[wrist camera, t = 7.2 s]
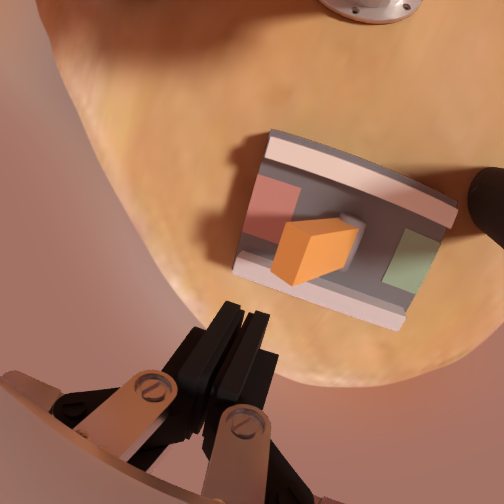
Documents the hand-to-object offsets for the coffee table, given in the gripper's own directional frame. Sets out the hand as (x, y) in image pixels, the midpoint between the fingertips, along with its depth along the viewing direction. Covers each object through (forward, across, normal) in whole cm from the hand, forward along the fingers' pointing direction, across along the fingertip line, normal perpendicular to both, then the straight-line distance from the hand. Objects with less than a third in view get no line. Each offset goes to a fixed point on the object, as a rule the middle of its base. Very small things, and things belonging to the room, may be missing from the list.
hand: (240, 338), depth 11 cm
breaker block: (+21, -5, 0) cm, 22 cm away
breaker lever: (+17, -5, 0) cm, 18 cm away
